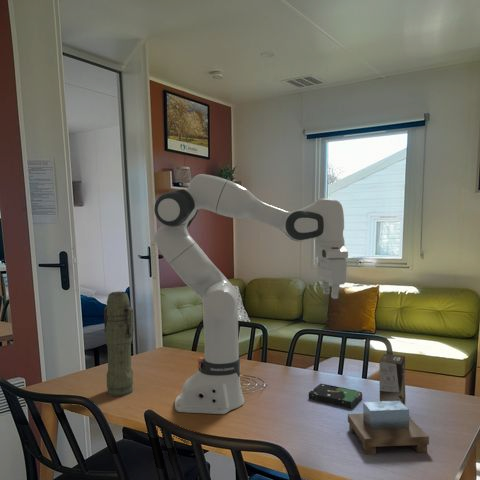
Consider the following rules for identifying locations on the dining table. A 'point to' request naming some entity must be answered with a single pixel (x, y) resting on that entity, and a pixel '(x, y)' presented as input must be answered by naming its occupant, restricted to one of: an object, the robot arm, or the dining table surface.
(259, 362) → the dining table surface
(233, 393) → the robot arm
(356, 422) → the stand
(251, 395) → the dining table surface
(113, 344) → the thermos
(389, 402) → the block
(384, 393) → the coffee box
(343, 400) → the disk drive
